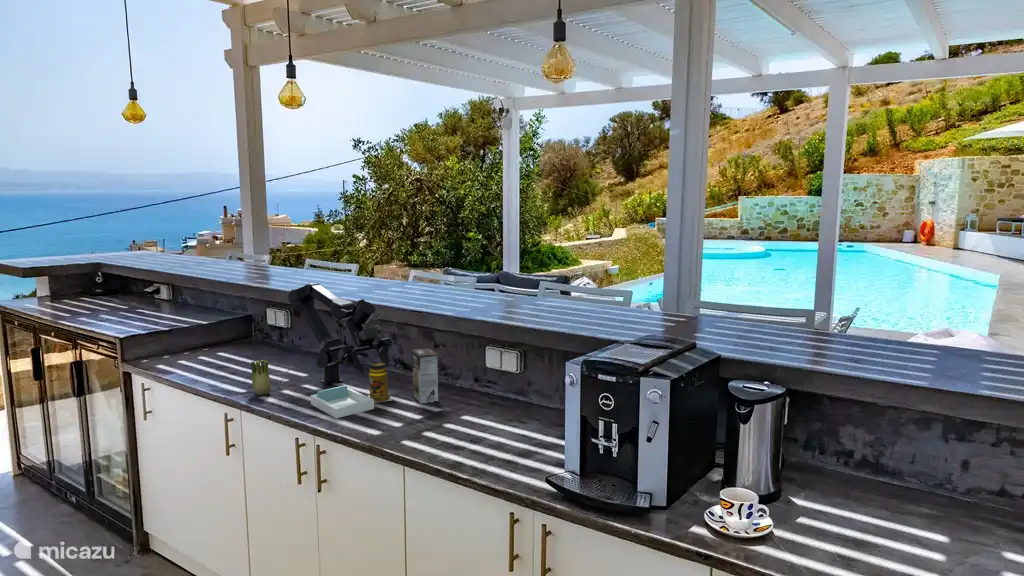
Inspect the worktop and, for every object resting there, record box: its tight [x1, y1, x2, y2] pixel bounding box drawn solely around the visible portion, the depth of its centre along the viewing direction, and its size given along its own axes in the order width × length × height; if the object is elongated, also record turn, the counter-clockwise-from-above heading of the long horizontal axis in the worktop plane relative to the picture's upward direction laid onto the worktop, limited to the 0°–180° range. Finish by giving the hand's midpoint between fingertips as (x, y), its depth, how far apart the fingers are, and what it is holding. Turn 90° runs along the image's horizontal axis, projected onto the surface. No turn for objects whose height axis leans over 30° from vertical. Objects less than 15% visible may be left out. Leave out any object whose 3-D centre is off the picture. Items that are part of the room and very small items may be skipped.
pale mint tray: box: [310, 386, 375, 419], centre depth 209 cm, size 19×13×3 cm
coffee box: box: [411, 348, 439, 405], centre depth 214 cm, size 9×6×16 cm
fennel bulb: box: [250, 359, 272, 396], centre depth 222 cm, size 6×5×12 cm
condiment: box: [367, 362, 393, 404], centre depth 215 cm, size 7×8×12 cm
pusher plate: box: [316, 384, 348, 401], centre depth 213 cm, size 1×10×4 cm, turn 131°
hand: (375, 369), depth 216 cm, fingers open, 9 cm apart
